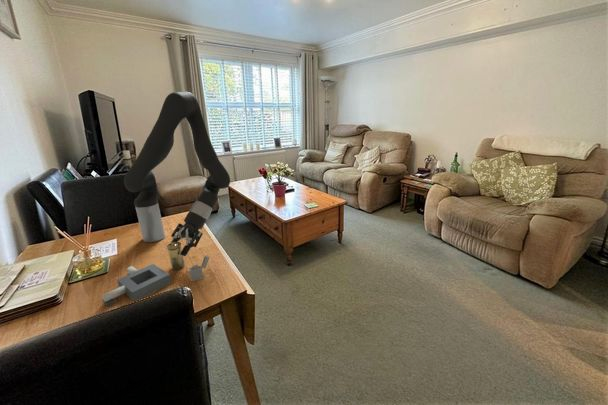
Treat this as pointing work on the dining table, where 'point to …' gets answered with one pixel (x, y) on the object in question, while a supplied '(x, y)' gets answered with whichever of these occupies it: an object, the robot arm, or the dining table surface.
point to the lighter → (198, 270)
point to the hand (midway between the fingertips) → (176, 252)
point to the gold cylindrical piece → (175, 255)
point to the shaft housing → (135, 277)
